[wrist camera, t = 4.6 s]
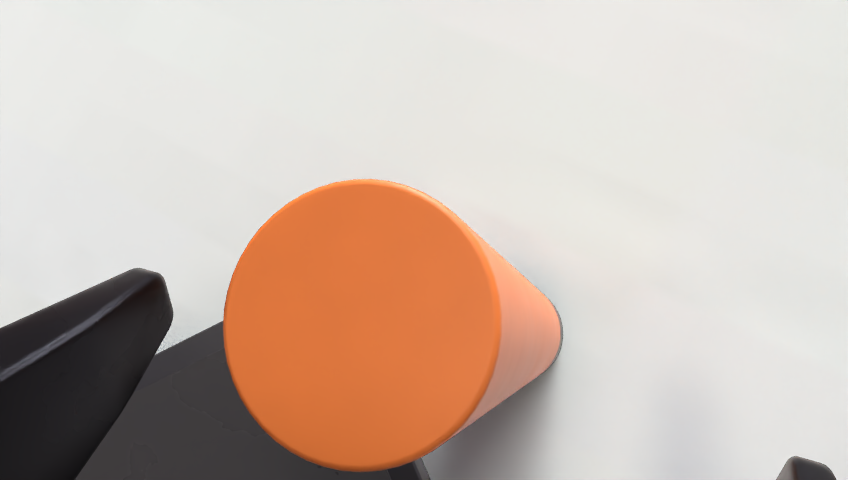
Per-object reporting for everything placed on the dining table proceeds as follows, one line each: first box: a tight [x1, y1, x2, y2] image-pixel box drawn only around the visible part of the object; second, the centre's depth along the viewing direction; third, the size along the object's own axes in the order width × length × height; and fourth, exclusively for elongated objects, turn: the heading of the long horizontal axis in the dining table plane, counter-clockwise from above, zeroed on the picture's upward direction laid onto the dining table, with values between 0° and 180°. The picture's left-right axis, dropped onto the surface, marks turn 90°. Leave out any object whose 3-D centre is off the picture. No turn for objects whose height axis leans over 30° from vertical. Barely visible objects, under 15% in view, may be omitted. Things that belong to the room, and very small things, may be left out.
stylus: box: [223, 179, 563, 472], centre depth 12 cm, size 2×2×13 cm
